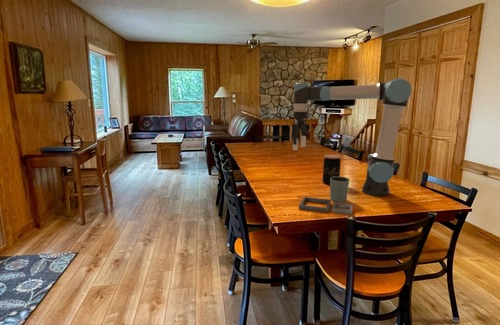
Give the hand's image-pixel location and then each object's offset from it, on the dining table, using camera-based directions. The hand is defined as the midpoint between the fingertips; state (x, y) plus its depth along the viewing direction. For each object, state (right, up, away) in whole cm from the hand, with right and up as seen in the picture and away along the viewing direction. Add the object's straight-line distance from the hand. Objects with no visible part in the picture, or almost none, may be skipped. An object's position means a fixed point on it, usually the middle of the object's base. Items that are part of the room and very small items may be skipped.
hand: (299, 148), depth 181 cm
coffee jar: (+24, -22, +25) cm, 41 cm away
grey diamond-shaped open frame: (+17, -32, -25) cm, 44 cm away
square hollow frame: (+5, -31, -19) cm, 37 cm away
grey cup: (+20, -29, -9) cm, 36 cm away
